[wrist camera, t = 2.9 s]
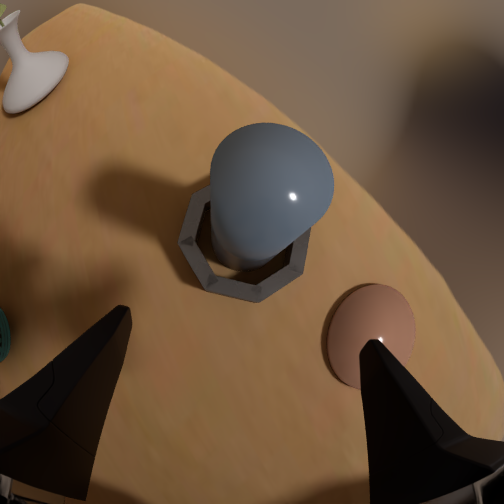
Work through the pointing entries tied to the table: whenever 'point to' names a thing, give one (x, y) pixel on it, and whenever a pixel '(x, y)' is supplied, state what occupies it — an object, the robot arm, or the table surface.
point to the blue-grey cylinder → (265, 193)
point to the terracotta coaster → (369, 329)
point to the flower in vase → (28, 68)
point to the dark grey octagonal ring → (227, 286)
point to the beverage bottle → (4, 336)
